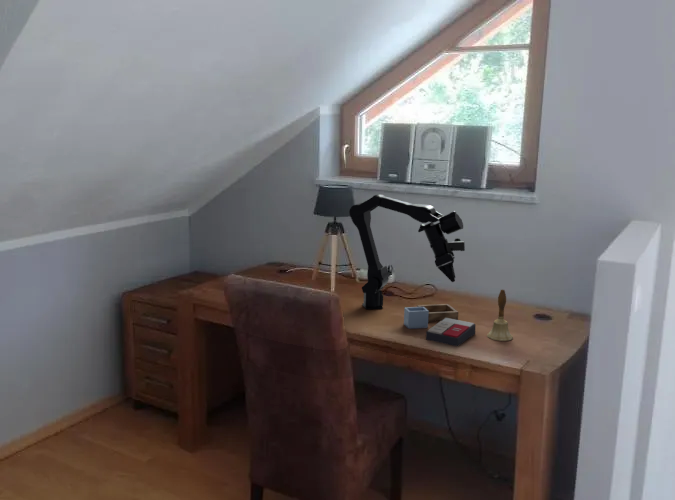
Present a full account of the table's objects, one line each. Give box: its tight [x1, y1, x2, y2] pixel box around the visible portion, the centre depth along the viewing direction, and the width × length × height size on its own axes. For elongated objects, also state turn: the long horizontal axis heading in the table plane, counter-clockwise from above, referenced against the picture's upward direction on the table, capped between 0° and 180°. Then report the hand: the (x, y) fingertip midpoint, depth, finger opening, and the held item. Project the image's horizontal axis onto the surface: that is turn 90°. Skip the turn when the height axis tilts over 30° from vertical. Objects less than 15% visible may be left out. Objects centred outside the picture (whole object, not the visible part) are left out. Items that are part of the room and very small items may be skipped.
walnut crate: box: [416, 303, 459, 323], centre depth 238 cm, size 12×10×3 cm
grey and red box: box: [425, 318, 477, 347], centre depth 217 cm, size 11×4×15 cm
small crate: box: [403, 306, 429, 330], centre depth 227 cm, size 7×5×6 cm
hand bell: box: [486, 289, 514, 342], centre depth 216 cm, size 8×8×16 cm
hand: (453, 280), depth 233 cm, fingers open, 9 cm apart
